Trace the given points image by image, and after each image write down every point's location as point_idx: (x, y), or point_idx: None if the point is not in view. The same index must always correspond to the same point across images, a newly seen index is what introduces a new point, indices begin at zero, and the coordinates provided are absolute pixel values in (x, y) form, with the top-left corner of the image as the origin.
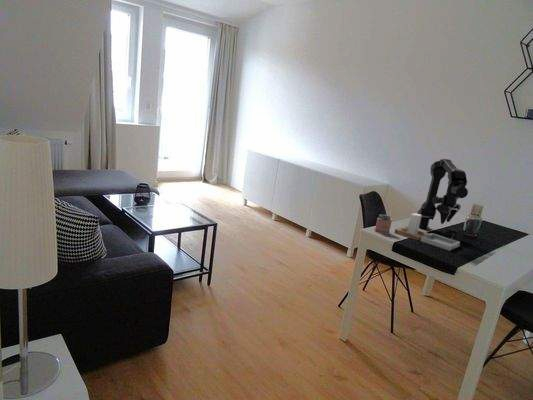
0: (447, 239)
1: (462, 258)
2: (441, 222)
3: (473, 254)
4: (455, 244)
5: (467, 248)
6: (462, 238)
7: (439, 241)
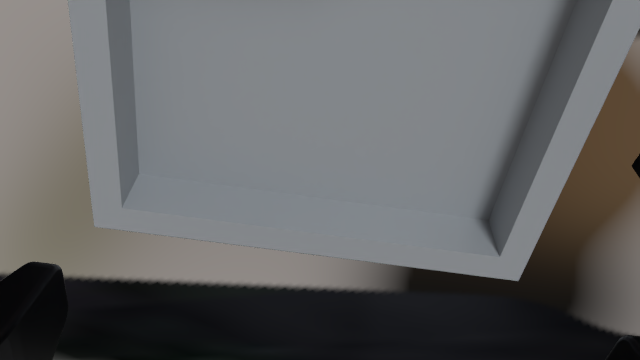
0: (550, 122)
1: None
2: (2, 300)
3: (318, 356)
4: (321, 250)
5: (515, 302)
6: None
7: (445, 4)
